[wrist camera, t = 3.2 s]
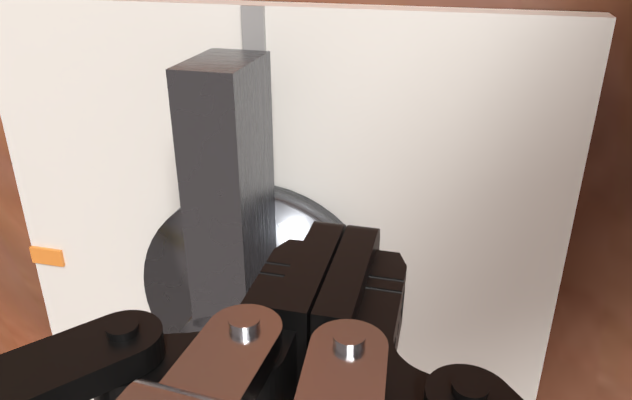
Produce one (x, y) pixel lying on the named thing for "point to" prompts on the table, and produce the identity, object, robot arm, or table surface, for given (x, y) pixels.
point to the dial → (221, 190)
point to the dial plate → (321, 149)
